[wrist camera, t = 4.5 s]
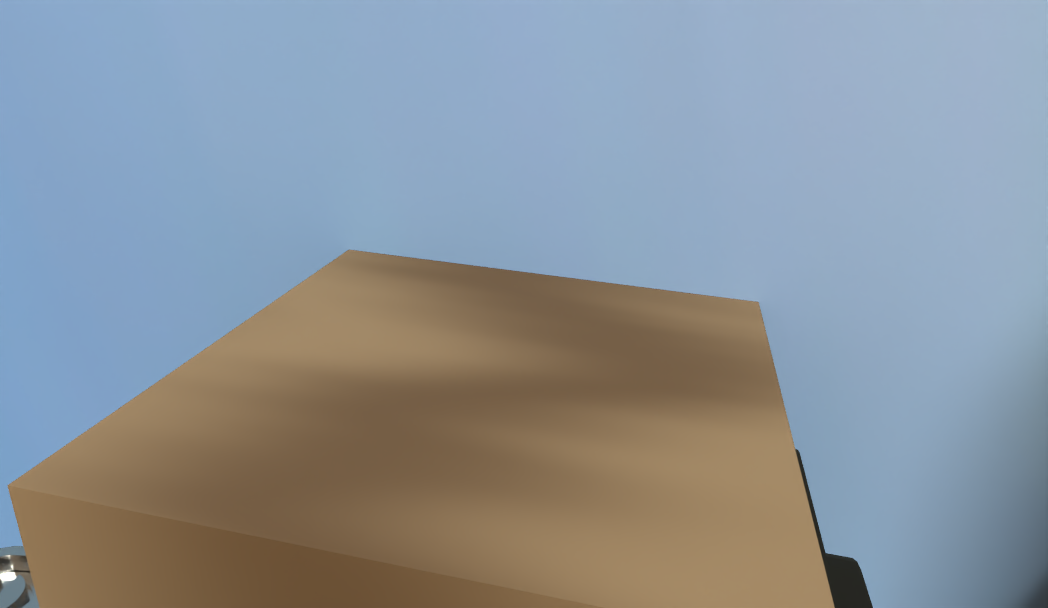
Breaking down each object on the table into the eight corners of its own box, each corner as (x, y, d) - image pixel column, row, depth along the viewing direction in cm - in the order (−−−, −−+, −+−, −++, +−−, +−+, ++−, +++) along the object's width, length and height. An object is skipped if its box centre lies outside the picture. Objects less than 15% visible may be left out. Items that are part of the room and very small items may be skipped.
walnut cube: (759, 301, 10) (846, 657, 4) (692, 629, 12) (697, 1129, 7) (348, 249, 11) (6, 486, 5) (360, 561, 13) (128, 946, 8)
